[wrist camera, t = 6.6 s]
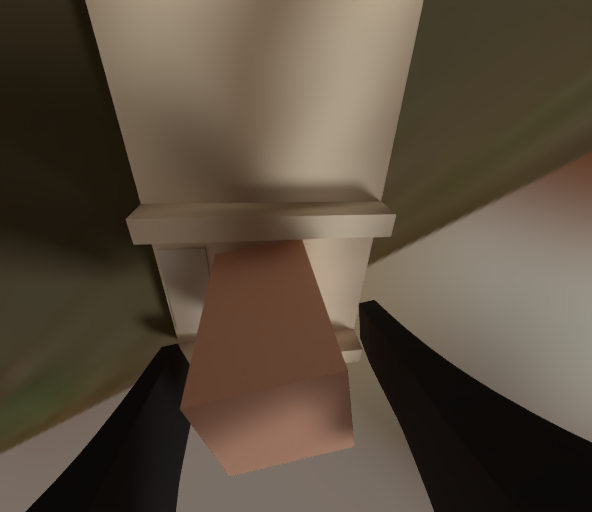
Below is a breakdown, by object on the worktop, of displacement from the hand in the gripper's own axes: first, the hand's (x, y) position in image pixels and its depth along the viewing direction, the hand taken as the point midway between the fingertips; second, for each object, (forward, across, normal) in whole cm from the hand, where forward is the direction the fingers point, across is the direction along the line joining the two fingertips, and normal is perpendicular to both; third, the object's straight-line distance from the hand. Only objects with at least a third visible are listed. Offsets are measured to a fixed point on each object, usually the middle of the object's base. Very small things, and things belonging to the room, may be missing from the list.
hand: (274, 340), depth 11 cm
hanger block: (+3, 0, 0) cm, 3 cm away
